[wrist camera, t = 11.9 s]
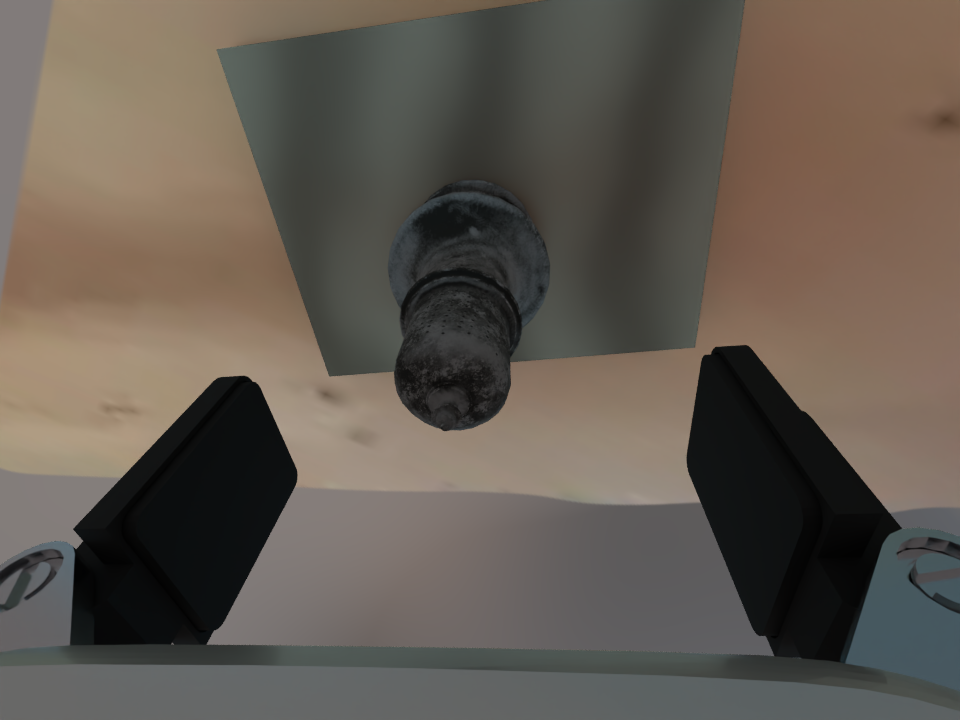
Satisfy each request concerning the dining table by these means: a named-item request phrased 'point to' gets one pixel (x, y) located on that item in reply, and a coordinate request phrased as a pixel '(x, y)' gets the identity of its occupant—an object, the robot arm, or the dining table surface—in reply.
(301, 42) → the serving board
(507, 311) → the dark grey chess piece
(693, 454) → the robot arm
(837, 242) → the dining table surface
